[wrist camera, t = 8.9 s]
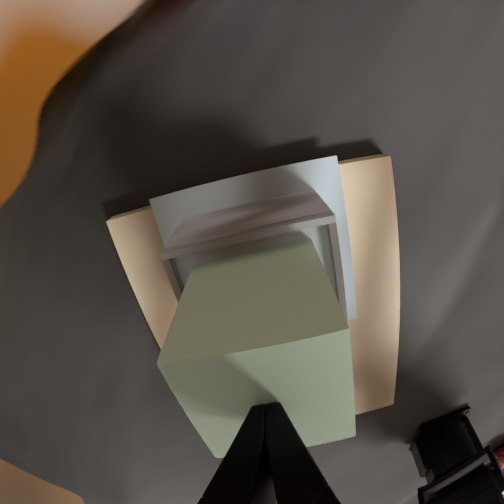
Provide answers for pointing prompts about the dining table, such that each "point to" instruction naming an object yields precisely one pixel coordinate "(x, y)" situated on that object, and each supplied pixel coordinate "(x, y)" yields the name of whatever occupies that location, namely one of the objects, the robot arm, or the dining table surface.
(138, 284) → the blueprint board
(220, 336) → the sage block
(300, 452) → the robot arm
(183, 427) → the dining table surface
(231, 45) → the dining table surface
